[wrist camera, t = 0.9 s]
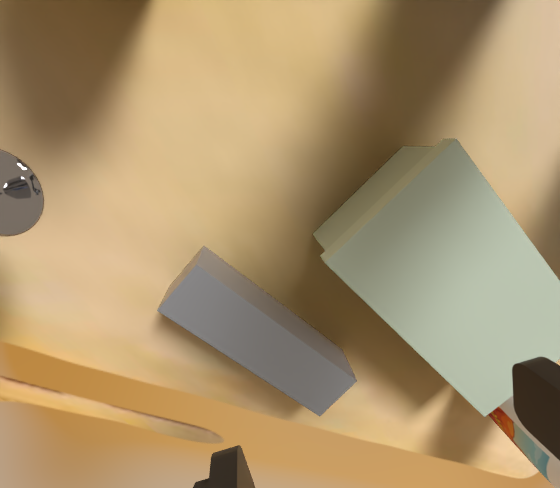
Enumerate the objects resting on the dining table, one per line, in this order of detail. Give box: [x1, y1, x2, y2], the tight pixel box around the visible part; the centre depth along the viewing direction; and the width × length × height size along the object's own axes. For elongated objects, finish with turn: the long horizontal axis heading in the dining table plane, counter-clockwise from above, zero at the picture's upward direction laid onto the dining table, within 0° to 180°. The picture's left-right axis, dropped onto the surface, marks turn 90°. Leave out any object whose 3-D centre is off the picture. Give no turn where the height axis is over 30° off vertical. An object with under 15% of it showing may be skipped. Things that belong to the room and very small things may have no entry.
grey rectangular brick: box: [157, 246, 357, 416], centre depth 30 cm, size 5×18×5 cm, turn 48°
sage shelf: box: [313, 139, 560, 417], centre depth 28 cm, size 12×22×7 cm, turn 45°
